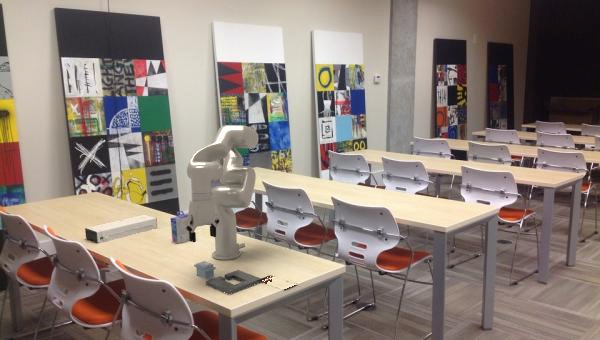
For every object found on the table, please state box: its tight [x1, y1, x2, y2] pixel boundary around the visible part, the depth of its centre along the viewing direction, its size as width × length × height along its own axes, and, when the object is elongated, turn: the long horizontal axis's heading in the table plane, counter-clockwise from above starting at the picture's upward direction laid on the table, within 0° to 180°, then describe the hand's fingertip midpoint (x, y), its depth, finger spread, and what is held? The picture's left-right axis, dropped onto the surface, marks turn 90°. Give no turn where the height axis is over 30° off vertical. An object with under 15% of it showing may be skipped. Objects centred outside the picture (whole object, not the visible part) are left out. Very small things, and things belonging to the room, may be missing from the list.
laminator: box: [84, 214, 158, 244], centre depth 266 cm, size 34×12×6 cm, turn 139°
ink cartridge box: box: [170, 210, 190, 244], centre depth 253 cm, size 10×6×14 cm, turn 137°
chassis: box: [205, 269, 263, 295], centre depth 198 cm, size 16×14×2 cm
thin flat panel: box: [261, 275, 298, 292], centre depth 199 cm, size 7×1×15 cm
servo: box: [193, 260, 217, 280], centre depth 207 cm, size 4×9×6 cm, turn 46°
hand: (203, 239), depth 204 cm, fingers open, 9 cm apart
